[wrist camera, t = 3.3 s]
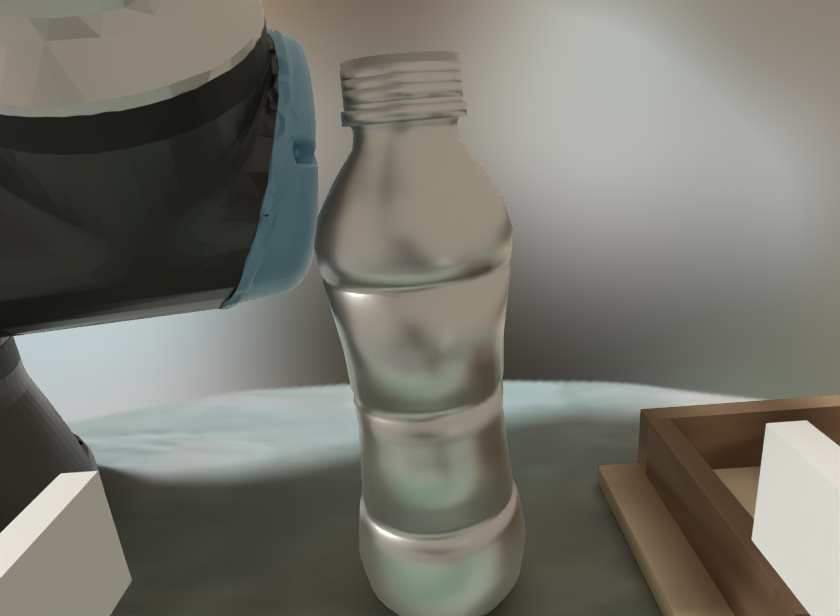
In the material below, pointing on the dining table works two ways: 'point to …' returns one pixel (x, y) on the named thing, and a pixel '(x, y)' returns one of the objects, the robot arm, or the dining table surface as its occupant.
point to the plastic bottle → (423, 338)
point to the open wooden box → (706, 504)
